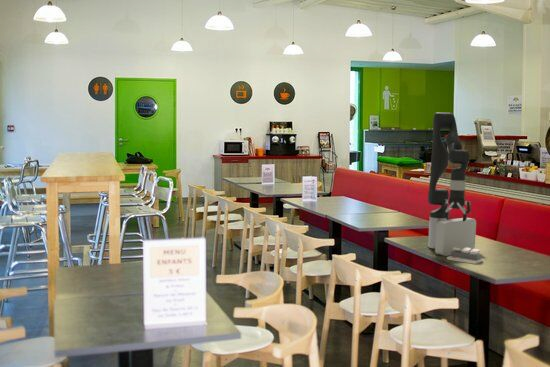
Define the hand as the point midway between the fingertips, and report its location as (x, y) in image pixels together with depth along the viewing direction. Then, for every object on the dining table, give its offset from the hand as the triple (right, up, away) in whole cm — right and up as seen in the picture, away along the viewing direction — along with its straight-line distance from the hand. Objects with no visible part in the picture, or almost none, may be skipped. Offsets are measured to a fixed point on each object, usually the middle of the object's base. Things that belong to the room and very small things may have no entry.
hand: (455, 220), depth 344 cm
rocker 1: (+2, -15, +4) cm, 16 cm away
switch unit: (+5, -21, +1) cm, 21 cm away
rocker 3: (+10, -16, -1) cm, 18 cm away
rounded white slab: (+5, -19, +20) cm, 28 cm away
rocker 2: (+6, -15, +2) cm, 17 cm away
